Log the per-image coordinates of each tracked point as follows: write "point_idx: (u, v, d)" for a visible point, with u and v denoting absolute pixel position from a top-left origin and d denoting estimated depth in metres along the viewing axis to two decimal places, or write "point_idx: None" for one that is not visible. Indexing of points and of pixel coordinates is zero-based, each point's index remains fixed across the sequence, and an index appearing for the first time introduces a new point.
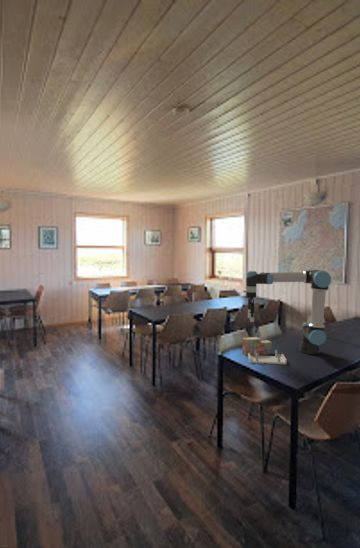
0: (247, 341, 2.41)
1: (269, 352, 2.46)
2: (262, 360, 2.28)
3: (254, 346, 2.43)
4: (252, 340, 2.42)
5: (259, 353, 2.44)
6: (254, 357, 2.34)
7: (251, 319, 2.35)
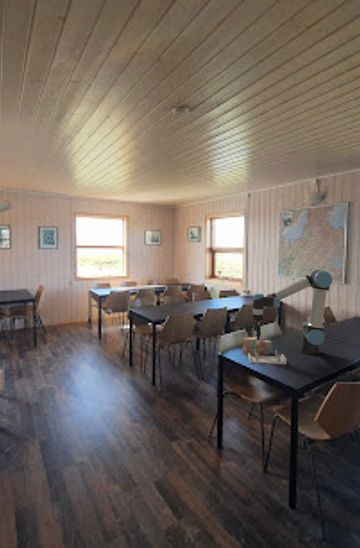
0: (247, 341, 2.41)
1: (269, 352, 2.46)
2: (262, 360, 2.28)
3: (255, 345, 2.43)
4: (252, 340, 2.42)
5: (259, 353, 2.44)
6: (254, 357, 2.34)
7: (257, 341, 2.39)
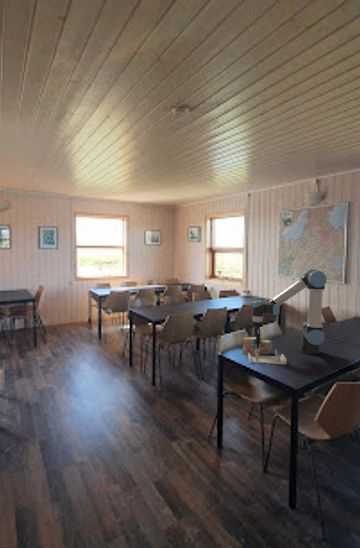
0: (248, 341, 2.41)
1: (269, 352, 2.46)
2: (262, 360, 2.28)
3: (255, 345, 2.43)
4: (252, 340, 2.42)
5: (259, 353, 2.44)
6: (254, 357, 2.34)
7: (257, 350, 2.42)
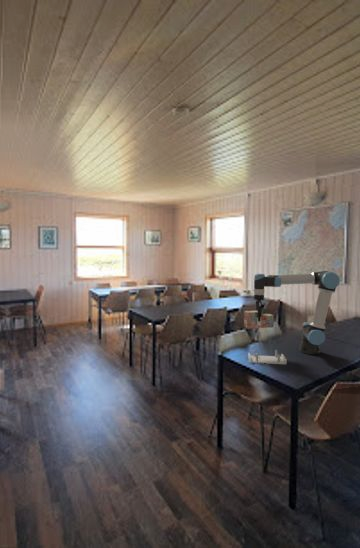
0: (249, 314, 2.39)
1: (271, 325, 2.43)
2: (262, 360, 2.28)
3: (256, 318, 2.40)
4: (254, 313, 2.39)
5: (261, 326, 2.41)
6: (254, 357, 2.34)
7: (258, 323, 2.39)
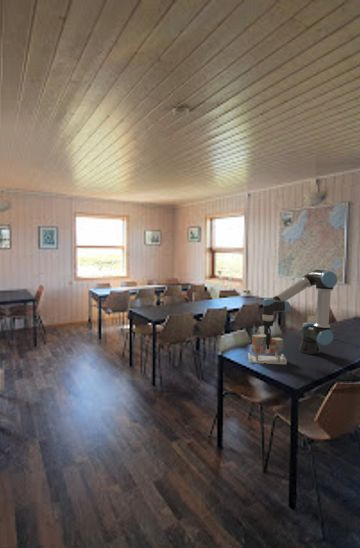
0: (257, 338, 2.25)
1: (281, 350, 2.30)
2: (262, 360, 2.28)
3: (265, 343, 2.27)
4: (263, 337, 2.26)
5: (270, 351, 2.28)
6: (254, 357, 2.34)
7: (267, 351, 2.26)
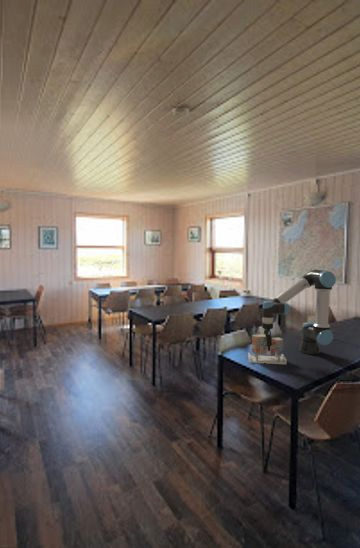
0: (257, 338, 2.25)
1: (281, 350, 2.30)
2: (262, 360, 2.28)
3: (265, 343, 2.27)
4: (262, 337, 2.26)
5: None
6: (254, 357, 2.34)
7: (268, 352, 2.24)
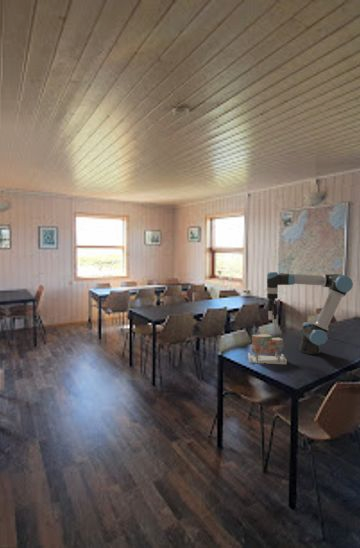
0: (257, 338, 2.25)
1: (281, 350, 2.30)
2: (262, 360, 2.28)
3: (265, 343, 2.27)
4: (262, 337, 2.26)
5: (270, 351, 2.28)
6: (254, 357, 2.34)
7: (274, 321, 2.32)
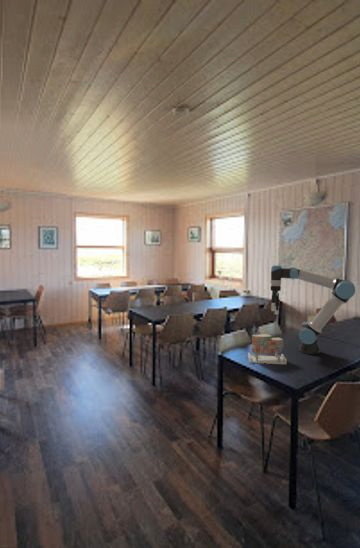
0: (257, 338, 2.25)
1: (281, 350, 2.30)
2: (262, 360, 2.28)
3: (265, 343, 2.27)
4: (262, 337, 2.26)
5: (270, 351, 2.28)
6: (254, 357, 2.34)
7: (276, 312, 2.43)
